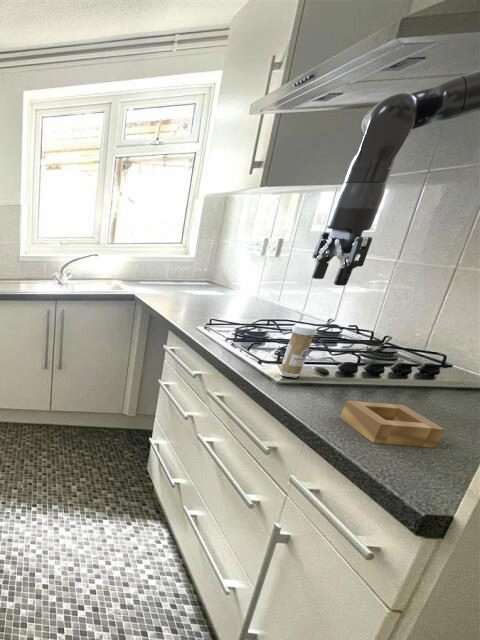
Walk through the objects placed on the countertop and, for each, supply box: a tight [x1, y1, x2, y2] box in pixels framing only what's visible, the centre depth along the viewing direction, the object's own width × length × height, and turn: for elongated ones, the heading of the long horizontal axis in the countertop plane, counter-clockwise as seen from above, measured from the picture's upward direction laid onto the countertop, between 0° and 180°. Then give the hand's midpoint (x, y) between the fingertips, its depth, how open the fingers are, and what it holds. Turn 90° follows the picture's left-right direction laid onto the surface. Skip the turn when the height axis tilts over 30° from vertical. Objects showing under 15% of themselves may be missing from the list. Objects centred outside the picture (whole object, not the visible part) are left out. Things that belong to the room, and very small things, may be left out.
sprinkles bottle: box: [279, 323, 318, 375], centre depth 105 cm, size 5×5×14 cm
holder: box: [339, 400, 446, 449], centre depth 81 cm, size 10×10×4 cm
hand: (328, 281), depth 97 cm, fingers open, 8 cm apart
